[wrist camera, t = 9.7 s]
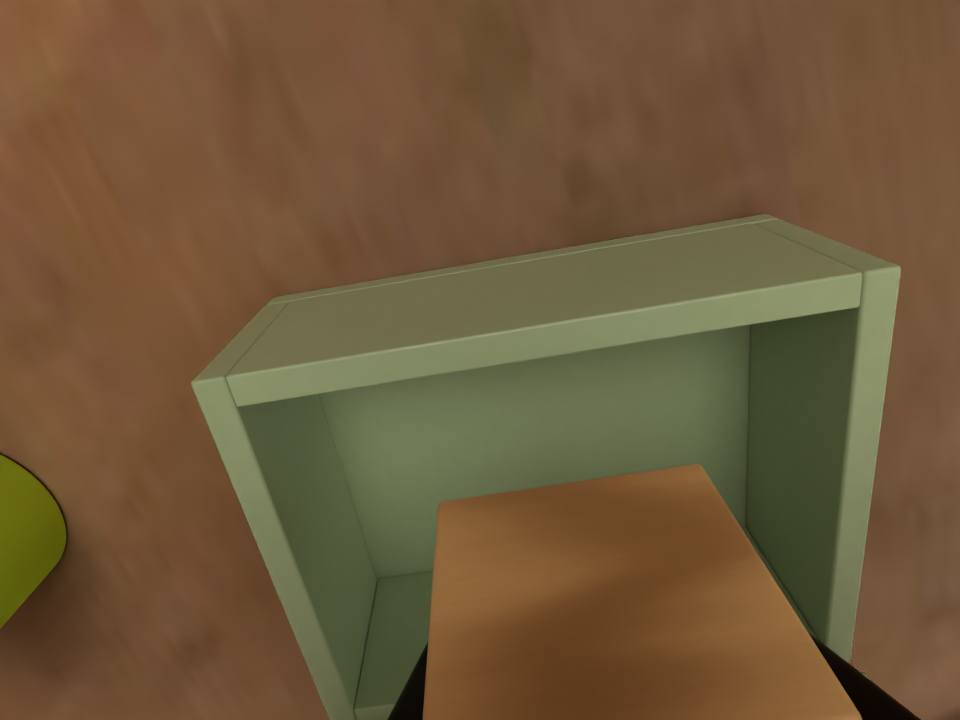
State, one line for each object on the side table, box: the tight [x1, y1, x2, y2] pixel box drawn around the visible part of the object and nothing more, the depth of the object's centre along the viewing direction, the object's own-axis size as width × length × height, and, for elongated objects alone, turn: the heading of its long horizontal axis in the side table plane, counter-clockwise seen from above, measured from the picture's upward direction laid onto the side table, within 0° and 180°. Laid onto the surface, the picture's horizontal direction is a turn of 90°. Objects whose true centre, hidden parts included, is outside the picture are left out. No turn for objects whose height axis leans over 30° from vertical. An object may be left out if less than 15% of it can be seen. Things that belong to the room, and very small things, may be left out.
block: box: [423, 464, 862, 720], centre depth 8 cm, size 4×4×4 cm
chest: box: [191, 214, 901, 720], centre depth 15 cm, size 10×13×5 cm
